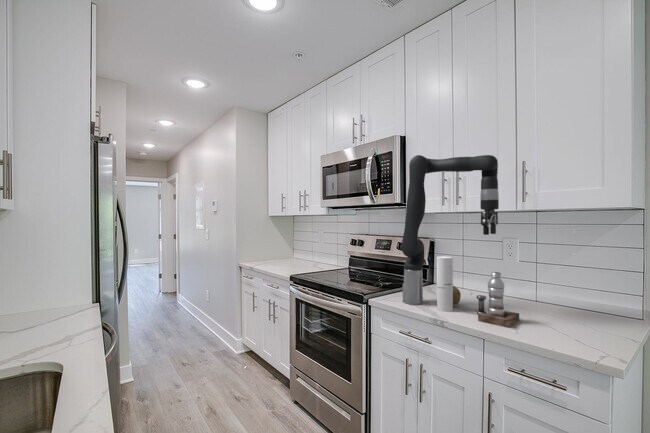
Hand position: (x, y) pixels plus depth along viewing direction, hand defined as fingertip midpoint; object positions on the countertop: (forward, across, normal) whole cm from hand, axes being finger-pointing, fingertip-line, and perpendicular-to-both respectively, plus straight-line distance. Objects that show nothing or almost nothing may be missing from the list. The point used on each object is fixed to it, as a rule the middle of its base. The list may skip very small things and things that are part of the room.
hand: (489, 234), depth 151 cm
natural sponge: (+36, +1, -18) cm, 41 cm away
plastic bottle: (+36, +9, +6) cm, 38 cm away
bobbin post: (+36, +5, -2) cm, 36 cm away
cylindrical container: (+36, +10, -17) cm, 41 cm away
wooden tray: (+36, +10, +7) cm, 38 cm away
